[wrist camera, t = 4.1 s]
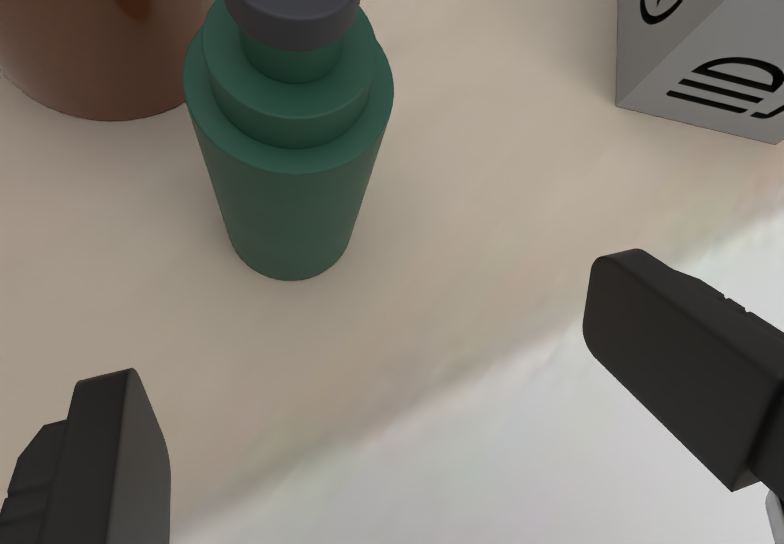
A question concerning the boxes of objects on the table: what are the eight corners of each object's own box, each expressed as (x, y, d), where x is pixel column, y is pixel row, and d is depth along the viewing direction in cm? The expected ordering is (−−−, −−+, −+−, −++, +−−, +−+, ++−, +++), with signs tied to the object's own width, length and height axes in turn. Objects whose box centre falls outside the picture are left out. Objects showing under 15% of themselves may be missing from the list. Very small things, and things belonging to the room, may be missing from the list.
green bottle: (200, 224, 24) (74, -56, 10) (286, 143, 26) (283, -192, 12) (295, 306, 24) (303, 137, 10) (375, 219, 26) (481, -31, 12)
